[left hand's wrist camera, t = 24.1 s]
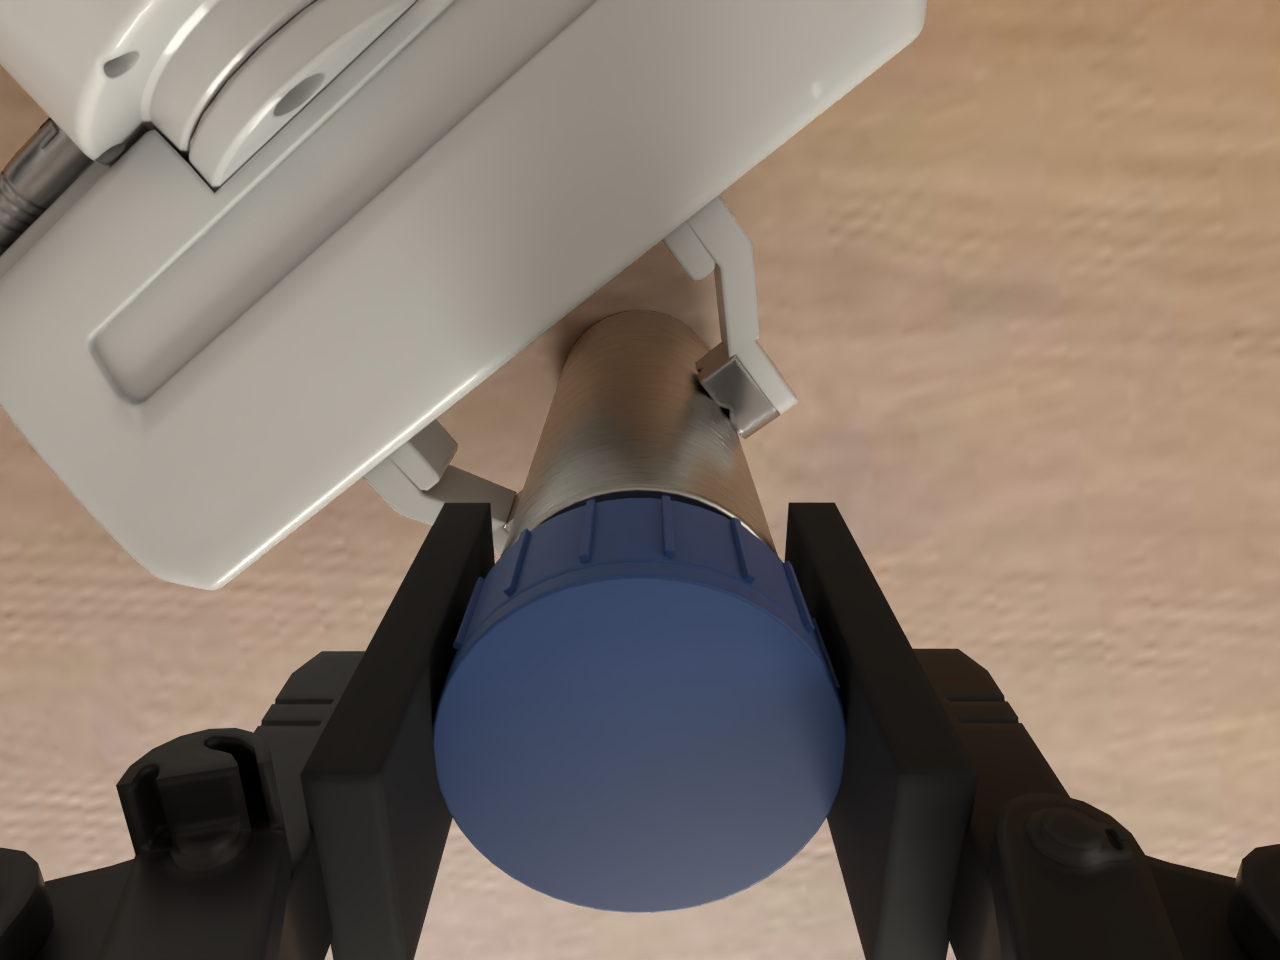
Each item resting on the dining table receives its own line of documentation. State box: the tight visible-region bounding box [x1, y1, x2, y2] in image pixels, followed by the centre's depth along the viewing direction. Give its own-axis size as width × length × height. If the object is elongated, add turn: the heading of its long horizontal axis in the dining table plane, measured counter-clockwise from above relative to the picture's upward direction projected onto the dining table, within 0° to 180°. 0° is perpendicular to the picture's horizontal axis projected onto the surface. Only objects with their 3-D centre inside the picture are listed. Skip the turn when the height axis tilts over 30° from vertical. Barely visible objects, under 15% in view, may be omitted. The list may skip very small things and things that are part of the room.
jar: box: [501, 311, 778, 556], centre depth 18 cm, size 5×5×16 cm
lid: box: [433, 495, 847, 913], centre depth 11 cm, size 5×5×2 cm
